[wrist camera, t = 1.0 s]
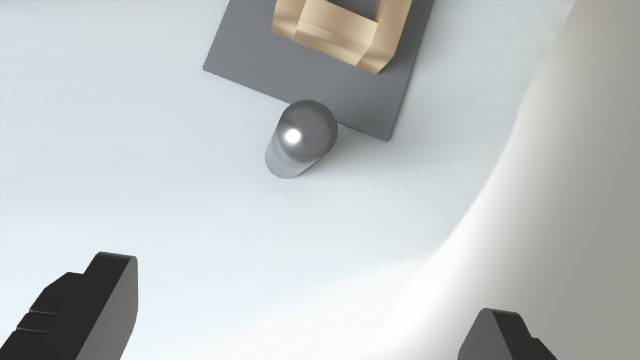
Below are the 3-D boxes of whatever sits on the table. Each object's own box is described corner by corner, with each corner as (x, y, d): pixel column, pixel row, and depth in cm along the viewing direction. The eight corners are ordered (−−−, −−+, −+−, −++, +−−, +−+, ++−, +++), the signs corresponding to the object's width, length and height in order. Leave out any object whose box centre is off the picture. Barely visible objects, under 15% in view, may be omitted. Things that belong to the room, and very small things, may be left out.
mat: (203, 69, 33) (202, 67, 33) (275, -110, 36) (276, -114, 36) (386, 141, 36) (388, 140, 35) (442, -32, 38) (444, -36, 38)
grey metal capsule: (259, 169, 33) (270, 145, 24) (273, 130, 34) (290, 90, 24) (299, 184, 34) (326, 166, 24) (313, 145, 34) (345, 112, 25)
